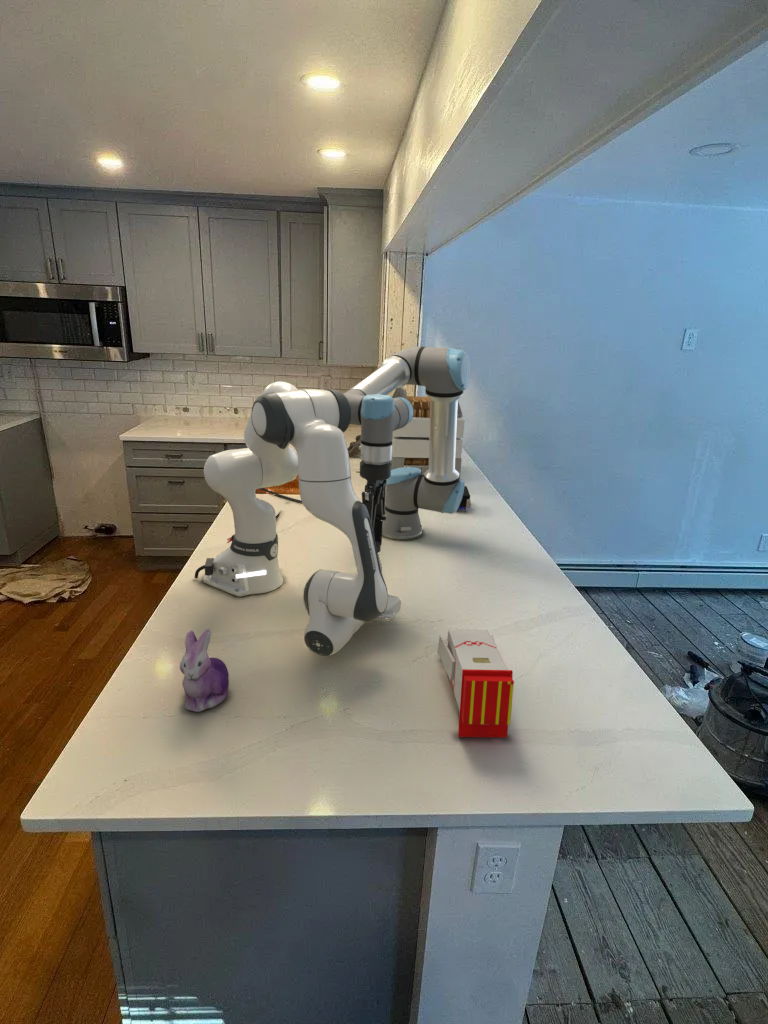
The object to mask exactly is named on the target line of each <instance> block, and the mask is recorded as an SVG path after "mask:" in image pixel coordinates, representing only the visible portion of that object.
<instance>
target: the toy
mask: <svg viewBox="0 0 768 1024" xmlns="http://www.w3.org/2000/svg"><path fill="white" fill-rule="evenodd" d="M446 640H447V643H446V641H445V639H444V636H443V635H442V634H439V637H438V646H437V656H438V657H439V659H440V661H441V663H442V666H443V668H444V670H445V672H446V674H447V677H448V679H449V681H450V684H451V687H452V690H453V693H454V697H455V701H456V705H457V708H458V711H459V714H458V715H459V716H458V730H457V731H458V732H457V737H458V738H508V731H509V726H510V725H511V717H512V707H513V697H514V696H513V695H514V684H515V680H514V679H513V673H514V671H513V670H512V669H508V667H507V665H506V662H505V661H504V659H503V658H502V655H501V653H500V651H499V649H498V647H497V643H496V639H495V637H494V635H493V634H491V632H490V631H489V629H467V628H466V629H465V628H463V629H461V628H460V629H459V628H448V630H447V639H446Z"/></svg>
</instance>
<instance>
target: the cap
mask: <svg viewBox="0 0 768 1024" xmlns="http://www.w3.org/2000/svg"><path fill="white" fill-rule="evenodd" d="M375 543H376V548H377V553H378V554H379V553H380V552H381V548H382V547H381V546H382V545H381V544H380V543H379V542H377V541H375Z"/></svg>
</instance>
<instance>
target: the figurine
mask: <svg viewBox="0 0 768 1024" xmlns="http://www.w3.org/2000/svg"><path fill="white" fill-rule="evenodd" d="M211 636H212V630H211V628H207V629H205V630H204V631H203V632H202V633H201V635H200V636H199V638H198V639H197V635H196V633H195V632H194V631H193V630H189V631H188V632H187V633H186V635H185V640H184V641H185V642H184V644H185V645H184V648H185V652H184V653H183V656H182V658H181V660H180V662H179V670H180V672H181V673H182V675H184V677H183V679H182V688H183V691H184V694H185V697H186V699H185V702H184V703H185V704H184V707H185V709H186V710H188V711H192V712H195V713H196V712H202V711H205V710H207V709H212V708H215V707H217V706H218V705H219V704H221V703H222V702H223V701H225V700H226V699H227V698H228V694H229V685H230V679H229V678H230V675H229V670H228V667H227V664H225V662H224V661H223V660H222V659H220V658H218V657H210V656H209V654H208V648H209V644H210V641H211Z"/></svg>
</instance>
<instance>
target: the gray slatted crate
mask: <svg viewBox="0 0 768 1024" xmlns="http://www.w3.org/2000/svg"><path fill="white" fill-rule="evenodd" d="M407 394H408V393H407V390H406V389H404V388H403V387H400V388H396V389H394V392H393V394H392V395H391V397H392V398H394V397H397V398H398V397H402V398H405V399H407V400H408V401H409V402H410V403H411V405H412V407H413V418H412V420H411V421H410V422H409V423H408V424H407V425H406V426H404V427H403V428H400V429H397V430H395V431H393V439H392V460H391V461H390V463H391V470H393V469H397V468H403V467H405V466H406V467H417V466H418V467H429V435H430V398H429V397H428V396H415V395H414V396H413V395H412V396H411V395H407ZM464 429H465V419H464V418H463V411H462V408H461V405H460V402H459V401H458V410H457V432H456V454H455V470H457V471H458V473H459V480H461V472H462V461H463V460H462V453H463V442H464V441H463V440H462V439H463V438H464V431H465V430H464Z"/></svg>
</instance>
